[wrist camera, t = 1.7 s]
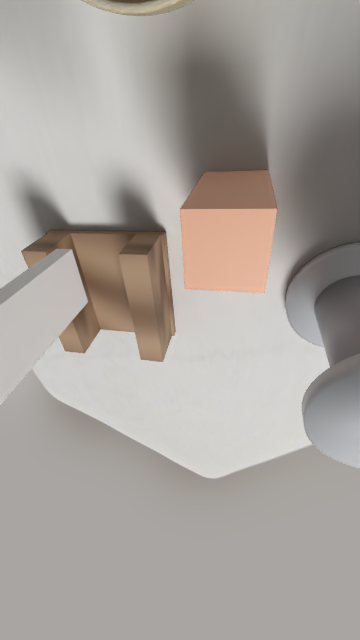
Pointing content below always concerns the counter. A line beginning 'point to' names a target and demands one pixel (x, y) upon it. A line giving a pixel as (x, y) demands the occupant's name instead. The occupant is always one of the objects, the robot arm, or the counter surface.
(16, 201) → the counter surface
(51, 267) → the robot arm
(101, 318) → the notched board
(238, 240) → the peach rectangular block
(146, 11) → the flower pot
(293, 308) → the bobbin
